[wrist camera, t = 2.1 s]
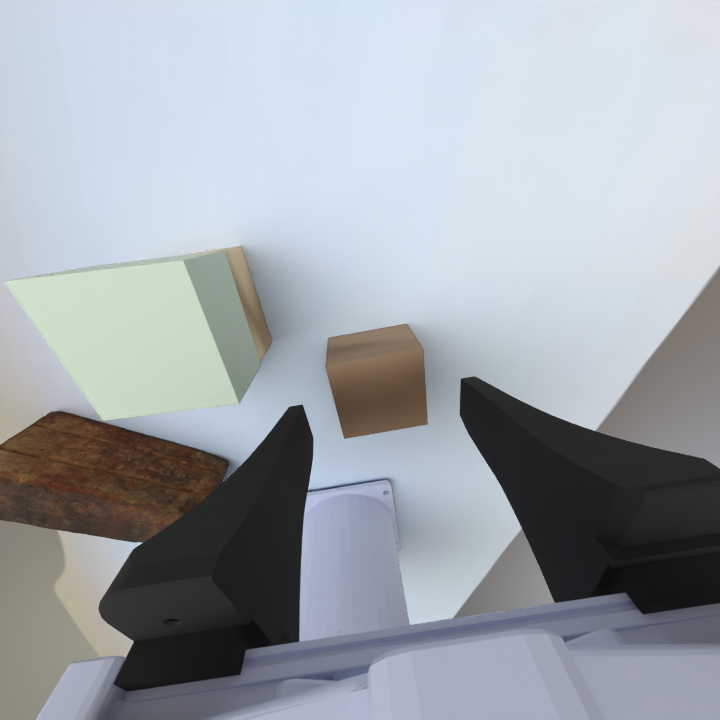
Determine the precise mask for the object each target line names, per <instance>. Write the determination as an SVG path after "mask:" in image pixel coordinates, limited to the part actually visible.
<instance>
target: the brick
mask: <svg viewBox="0 0 720 720" xmlns="http://www.w3.org/2000/svg"><path fill="white" fill-rule="evenodd" d="M228 465H229V464H228V463H227V462H226V461H224V460H222V459H220V458H218V457H216V456H213V455H210V454H208V453H206V452H203V451H200V450H198V449H195V448H191V447H187V446H183V445H180V444H177V443H174V442H170V441H167V440H163V439H159V438H156V437H151V436H146V435H144V434H141V433H137V432H133V431H129V430H126V429H124V428H120V427H116V426H113V425H109V424H106V423H103V422H99V421H94V420H91V419H87V418H84V417H80V416H77V415H73V414H69V413H64V412H51V413H48V414H47V415H46V416H44V417H42V418H41V419H39V420H38V421H36V422H35V423H34V424H32V425H30V426H29V427H27V428H26V429H24V430H23V431H21V432H20V433H18V434H16V435H15V436H13V437H11V438H10V439H8V440H7V441H5V442H4V443H3V444H1V445H0V520H4V521H11V522H18V523H24V524H29V525H33V526H38V527H43V528H48V529H55V530H62V531H68V532H72V533H81V534H87V535H93V536H100V537H106V538H111V539H116V540H123V541H129V542H142V543H144V542H145V541H147V540H148V539H150V538H151V537H153V536H154V535H156V534H157V533H159V532H160V531H162V530H163V529H165V528H166V527H168V526H169V525H170V524H172V523H173V522H175V521H176V520H177V519H179V518H180V517H181V516H183V515H184V514H185V513H187V512H188V511H189V510H191V509H192V508H193V507H195V506H196V505H197V504H198V503H200V502H201V501H202V500H203V499H205V498H206V497H207V496H208V495H209V494H210V493H212V492H213V491H214V490H215V489H216V488H217V487H219V486H220V485H221V483H222V481H223V478H224V476H225V473H226V470H227V468H228Z"/></svg>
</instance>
